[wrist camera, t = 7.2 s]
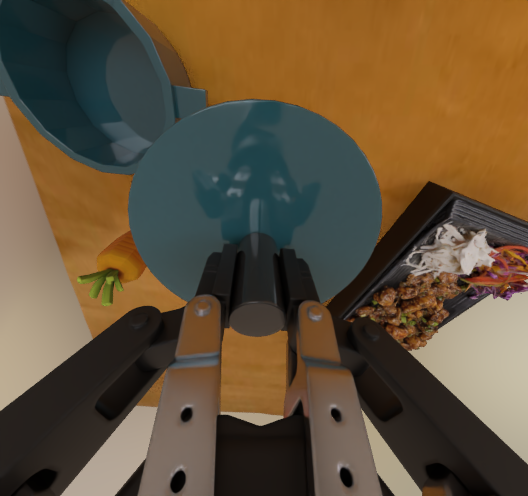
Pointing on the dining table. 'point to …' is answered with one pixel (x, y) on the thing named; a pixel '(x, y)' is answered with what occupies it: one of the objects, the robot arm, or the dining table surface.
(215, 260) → the robot arm
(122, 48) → the saucepan
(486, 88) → the dining table surface
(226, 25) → the dining table surface
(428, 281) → the food platter
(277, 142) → the pan lid
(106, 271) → the carrot
